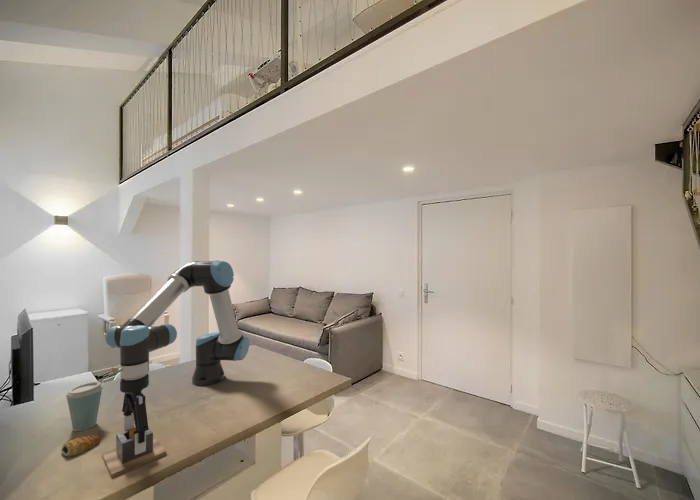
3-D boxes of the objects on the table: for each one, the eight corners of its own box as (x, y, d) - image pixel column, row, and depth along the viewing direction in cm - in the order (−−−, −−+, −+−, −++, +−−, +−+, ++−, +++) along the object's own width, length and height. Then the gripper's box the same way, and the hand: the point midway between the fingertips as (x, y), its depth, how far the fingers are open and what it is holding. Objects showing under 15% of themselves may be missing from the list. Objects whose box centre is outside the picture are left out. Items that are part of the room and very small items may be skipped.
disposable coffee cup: (71, 437, 108) (71, 394, 108) (60, 429, 114) (61, 388, 114) (107, 423, 117) (107, 383, 117) (95, 416, 123) (96, 378, 123)
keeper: (102, 457, 97) (102, 431, 97) (153, 437, 107) (153, 414, 108) (111, 477, 88) (111, 449, 88) (166, 454, 98) (166, 428, 98)
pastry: (93, 438, 108) (94, 427, 108) (103, 443, 105) (104, 432, 105) (59, 454, 99) (59, 442, 100) (68, 460, 96) (68, 447, 96)
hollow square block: (116, 453, 97) (116, 433, 98) (145, 441, 103) (145, 423, 103) (122, 464, 92) (122, 443, 92) (152, 451, 98) (153, 432, 98)
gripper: (111, 370, 104) (111, 433, 103) (130, 390, 87) (130, 467, 86) (138, 364, 109) (137, 424, 109) (160, 382, 93) (160, 454, 92)
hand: (134, 443), depth 98 cm, fingers open, 13 cm apart
